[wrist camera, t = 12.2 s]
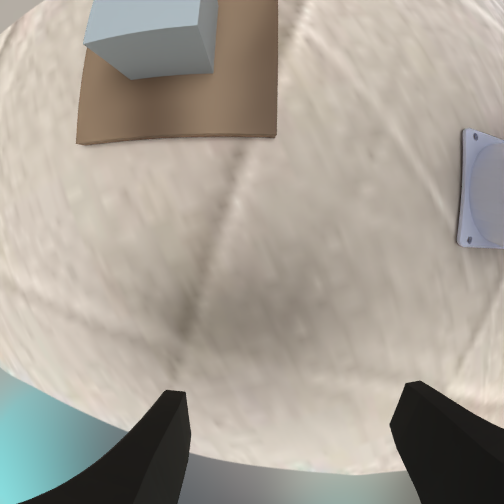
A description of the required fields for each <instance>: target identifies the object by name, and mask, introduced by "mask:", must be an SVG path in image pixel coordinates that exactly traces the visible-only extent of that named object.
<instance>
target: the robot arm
mask: <svg viewBox="0 0 504 504" xmlns="http://www.w3.org/2000/svg"><path fill="white" fill-rule="evenodd" d="M473 135H474V137H475V140H474V138H473ZM468 237H469V240H468V242H467V239H468ZM457 243H458V245H460V246H462V247H476V248H497V249H504V140H501V139H499V138H496V137H494V136H491V135H488V134H485V133H483V132H480V131H477V130H474V129H471V128H465V129H464V130H463V175H462V194H461V207H460V217H459V226H458V234H457ZM389 425H390V428H391V432H392V435H393V438H394V442H395V445H396V448H397V450H398V452H399V454H400V456H401V459H402V461H403V463H404V465H405V467H406V469H407V471H408V473H409V476H410V478H411V480H412V482H413V484H414V486H415V488H416V491H417V493H418V496H419V498H420V501H421V504H504V429H503V428H501V427H498V426H496V425H494V424H492V423H490V422H488V421H486V420H484V419H482V418H481V417H479V416H477V415H475V414H474V413H472V412H470V411H468V410H467V409H465V408H464V407H462V406H460V405H459V404H457V403H456V402H454V401H452V400H451V399H449V398H448V397H446V396H445V395H443V394H441V393H440V392H438V391H437V390H435V389H434V388H432V387H430V386H429V385H427V384H425V383H423V382H422V381H415V382H410V383H406V384H405V387H404V389H403V392H402V395H401V397H400V400H399V402H398V405H397V407H396V410H395V412H394V415H393V417H392V419H391V422H390V424H389ZM190 441H191V429H190V422H189V415H188V407H187V400H186V392H183V391H173V390H166V391H164V392H163V393H162V394H161V396H160V397H159V398H158V400H157V401H156V402H155V403H154V404H153V406H152V407H151V408H150V409H149V410H148V412H147V413H146V414H145V415H144V416H143V417H142V419H141V420H140V421H139V422H138V423H137V424H136V425H135V426H134V427H133V428H132V429H131V430H130V431H129V432H128V433H127V435H125V437H124V438H122V439H121V440H120V441H119V442H118V443H117V444H116V445H115V446H114V447H113V448H112V449H111V450H109V452H107V453H106V454H105V455H104V456H103V457H101V458H100V459H99V460H98V461H96V462H95V463H94V464H92V465H91V466H90V467H88V468H87V469H85V470H84V471H83V472H81V473H80V474H78V475H77V476H75V477H73V478H72V479H70V480H68V481H67V482H65V483H63V484H62V485H60V486H58V487H56V488H54V489H52V490H50V491H48V492H45V493H43V494H41V495H39V496H36V497H34V498H32V499H29V500H27V501H24V502H21V503H18V504H177V503H178V499H179V495H180V491H181V487H182V483H183V479H184V475H185V471H186V467H187V463H188V457H189V449H190Z"/></svg>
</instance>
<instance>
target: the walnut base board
mask: <svg viewBox="0 0 504 504" xmlns="http://www.w3.org/2000/svg"><path fill="white" fill-rule="evenodd" d="M277 86H278V0H218V17H217V29H216V42H215V56H214V72H213V73H208V74H186V75H172V76H160V77H151V78H142V79H134V80H130V79H129V78H127V77H126V76H125V75H124V74H122V73H121V72H120V71H118V70H117V69H116V68H114V67H113V66H112V65H111V64H109V63H108V62H107V61H105V60H104V59H103V58H101V57H100V56H99V55H97V54H96V53H94V52H93V51H92V50H90V49H89V48H88V47H87V51H86V56H85V62H84V68H83V75H82V82H81V90H80V98H79V108H78V120H77V135H76V144H81V145H92V144H100V143H109V142H119V141H129V140H142V139H156V138H175V137H219V136H225V137H269V138H275V136H276V135H277Z"/></svg>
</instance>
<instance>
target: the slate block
mask: <svg viewBox="0 0 504 504" xmlns="http://www.w3.org/2000/svg"><path fill="white" fill-rule="evenodd" d="M217 17H218V0H94V1H93V5H92V8H91V12H90V16H89V20H88V24H87V28H86V32H85V37H84V42H83V44H84V45H85V46H86V47H88V48H89V49H90V50H92V51H93V52H94V53H96V54H97V55H99V56H100V57H101V58H103V59H104V60H105V61H107V62H108V63H109V64H111V65H112V66H113V67H114V68H116V69H117V70H118V71H120V72H121V73H122V74H124V75H125V76H126V77H127V78H129V79H130V80H134V79H142V78H151V77H160V76H172V75H186V74H208V73H213V72H214V56H215V42H216V29H217Z"/></svg>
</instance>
